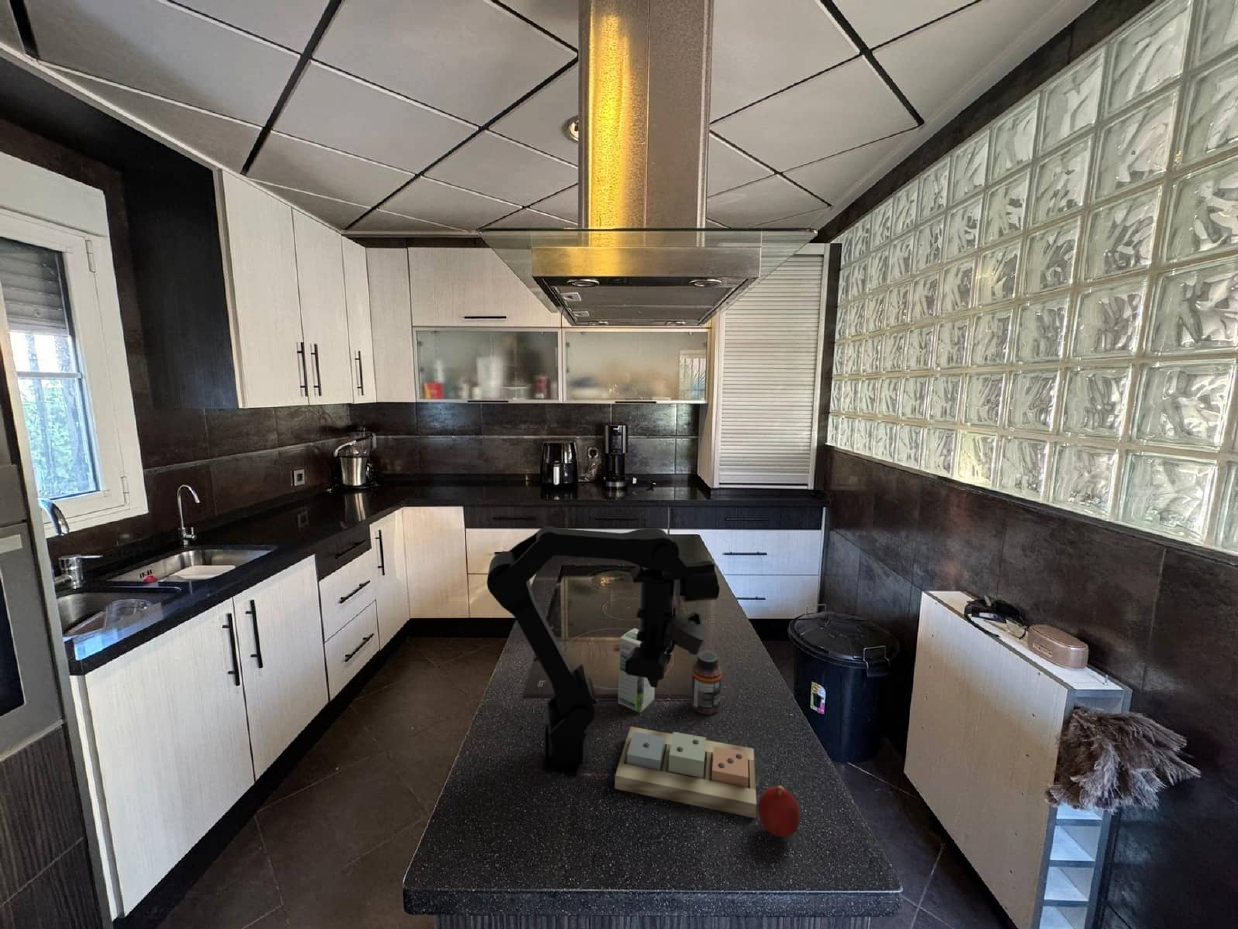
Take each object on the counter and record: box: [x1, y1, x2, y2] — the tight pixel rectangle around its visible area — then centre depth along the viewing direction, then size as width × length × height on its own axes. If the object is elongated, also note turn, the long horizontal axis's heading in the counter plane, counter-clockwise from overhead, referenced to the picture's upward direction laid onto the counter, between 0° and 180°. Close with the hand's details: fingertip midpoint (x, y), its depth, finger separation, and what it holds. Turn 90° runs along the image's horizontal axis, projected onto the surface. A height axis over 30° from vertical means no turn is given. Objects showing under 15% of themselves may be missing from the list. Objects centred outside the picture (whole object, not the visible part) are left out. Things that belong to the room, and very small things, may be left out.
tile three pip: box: [712, 746, 748, 788], centre depth 81 cm, size 6×6×3 cm
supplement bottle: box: [690, 650, 723, 716], centre depth 100 cm, size 6×6×11 cm
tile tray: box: [614, 726, 757, 819], centre depth 83 cm, size 22×12×2 cm, turn 77°
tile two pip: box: [668, 731, 707, 778], centre depth 82 cm, size 6×6×3 cm
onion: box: [757, 785, 801, 838], centre depth 72 cm, size 6×6×8 cm
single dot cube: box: [627, 732, 665, 771], centre depth 84 cm, size 6×6×3 cm
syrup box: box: [617, 628, 656, 714], centre depth 101 cm, size 6×6×14 cm
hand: (654, 686), depth 87 cm, fingers closed
